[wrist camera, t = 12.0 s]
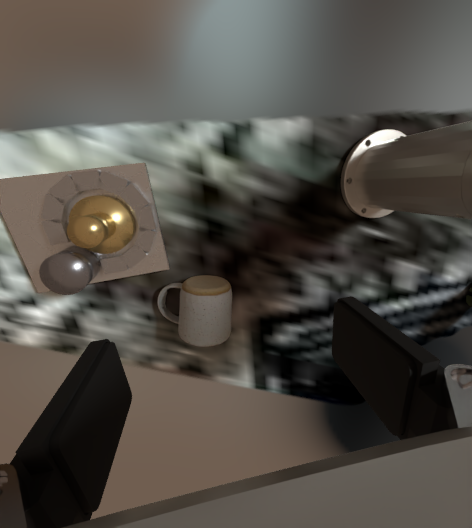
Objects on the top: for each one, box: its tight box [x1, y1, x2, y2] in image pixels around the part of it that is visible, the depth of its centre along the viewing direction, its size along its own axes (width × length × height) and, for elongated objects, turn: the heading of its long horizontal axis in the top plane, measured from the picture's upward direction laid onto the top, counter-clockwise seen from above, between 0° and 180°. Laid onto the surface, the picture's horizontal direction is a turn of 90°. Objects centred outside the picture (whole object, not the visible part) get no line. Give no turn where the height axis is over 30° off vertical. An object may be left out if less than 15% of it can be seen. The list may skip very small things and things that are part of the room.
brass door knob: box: [67, 195, 135, 254], centre depth 26 cm, size 7×7×7 cm
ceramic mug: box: [158, 275, 232, 347], centre depth 33 cm, size 11×8×8 cm
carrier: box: [0, 163, 170, 295], centre depth 28 cm, size 17×14×5 cm
